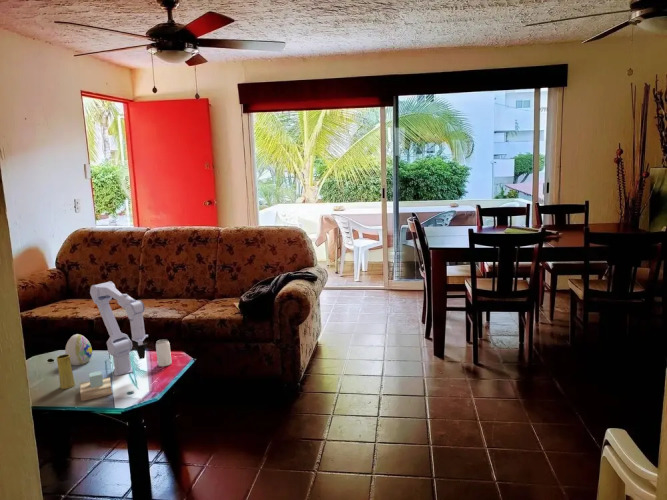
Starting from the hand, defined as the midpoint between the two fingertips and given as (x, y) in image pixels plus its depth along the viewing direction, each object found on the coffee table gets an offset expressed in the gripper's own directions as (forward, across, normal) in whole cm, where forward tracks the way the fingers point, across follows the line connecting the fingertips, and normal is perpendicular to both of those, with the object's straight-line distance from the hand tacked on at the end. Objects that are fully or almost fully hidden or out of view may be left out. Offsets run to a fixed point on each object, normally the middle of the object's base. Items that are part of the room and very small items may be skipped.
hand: (141, 356), depth 240 cm
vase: (+11, +10, +32) cm, 35 cm away
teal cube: (+7, -6, +20) cm, 22 cm away
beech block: (+11, -6, +20) cm, 24 cm away
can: (+11, +12, -11) cm, 19 cm away
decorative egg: (+11, +42, +27) cm, 51 cm away
